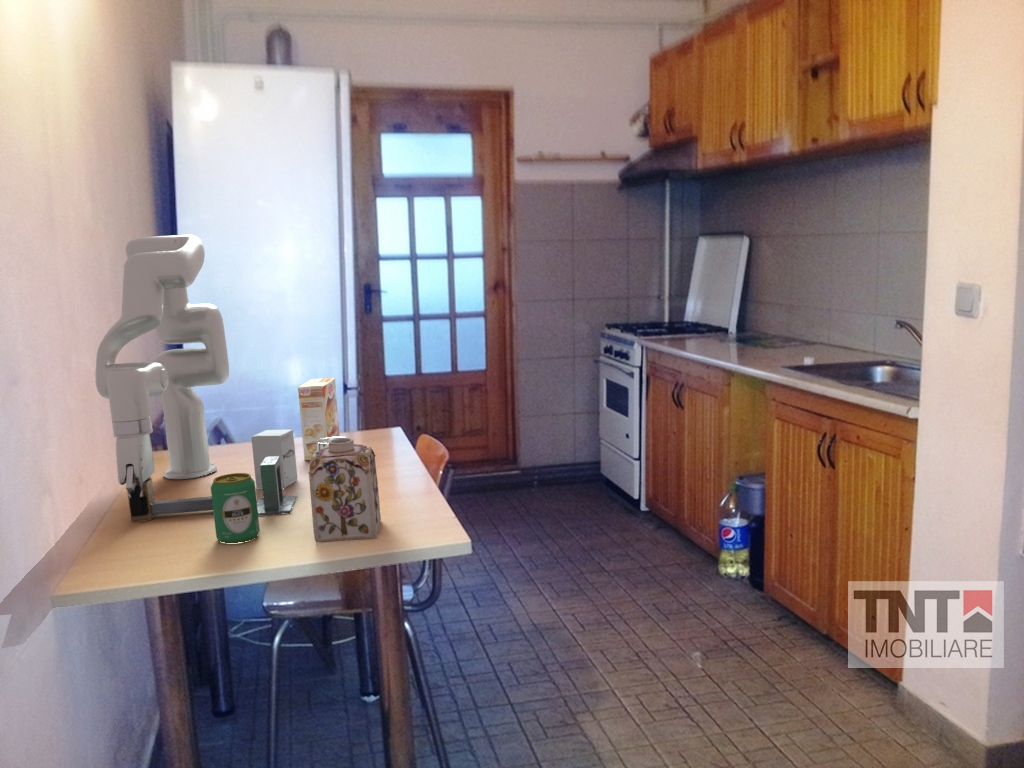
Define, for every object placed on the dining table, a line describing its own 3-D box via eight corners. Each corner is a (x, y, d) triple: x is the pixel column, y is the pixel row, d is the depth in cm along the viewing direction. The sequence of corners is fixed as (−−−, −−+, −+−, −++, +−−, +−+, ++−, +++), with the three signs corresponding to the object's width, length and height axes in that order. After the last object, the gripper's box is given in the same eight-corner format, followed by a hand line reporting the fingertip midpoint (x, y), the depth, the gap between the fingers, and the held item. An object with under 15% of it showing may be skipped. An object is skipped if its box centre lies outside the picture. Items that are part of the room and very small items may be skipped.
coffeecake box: (330, 459, 232) (323, 385, 229) (303, 460, 232) (296, 387, 229) (342, 446, 246) (335, 377, 243) (316, 447, 247) (310, 378, 244)
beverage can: (219, 548, 165) (211, 485, 163) (214, 536, 172) (208, 476, 171) (263, 540, 168) (256, 479, 166) (257, 529, 176) (250, 470, 174)
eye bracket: (260, 500, 196) (255, 455, 194) (297, 497, 197) (292, 452, 195) (250, 516, 184) (245, 468, 182) (290, 513, 185) (285, 465, 183)
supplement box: (285, 489, 205) (279, 435, 203) (255, 489, 206) (249, 436, 204) (298, 480, 212) (293, 428, 210) (270, 480, 213) (264, 429, 211)
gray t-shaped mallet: (136, 516, 189) (132, 479, 188) (252, 506, 192) (248, 470, 191) (131, 522, 185) (126, 484, 184) (249, 511, 188) (245, 474, 187)
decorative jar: (322, 524, 176) (314, 435, 173) (381, 520, 177) (374, 431, 174) (313, 544, 164) (304, 449, 162) (377, 539, 165) (369, 444, 162)
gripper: (126, 421, 192) (136, 502, 195) (100, 437, 176) (111, 526, 179) (162, 418, 193) (171, 499, 196) (139, 433, 177) (150, 522, 179)
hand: (143, 511), depth 187 cm, fingers closed on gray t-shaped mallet, 4 cm apart
